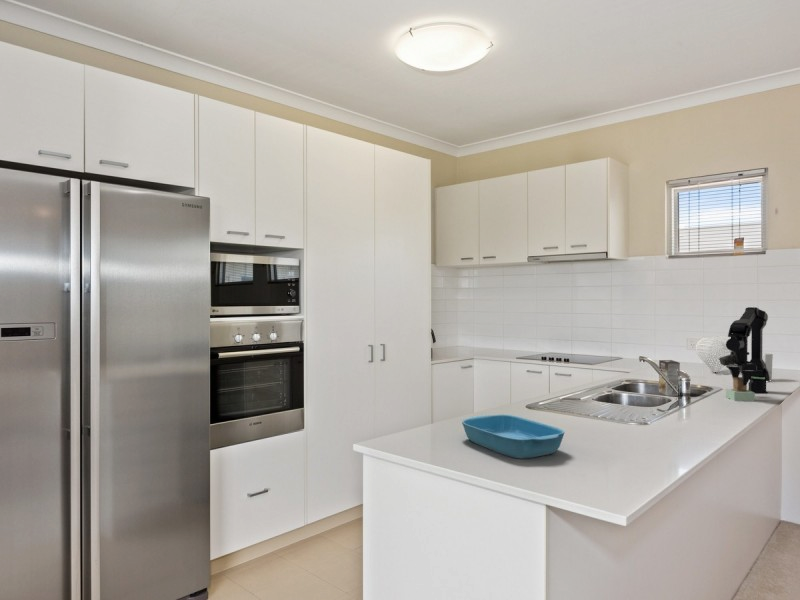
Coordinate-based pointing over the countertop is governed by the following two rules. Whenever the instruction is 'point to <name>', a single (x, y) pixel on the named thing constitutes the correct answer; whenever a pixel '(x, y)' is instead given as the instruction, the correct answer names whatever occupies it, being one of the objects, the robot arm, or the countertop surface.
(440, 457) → the countertop surface
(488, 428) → the casserole dish
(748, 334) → the robot arm
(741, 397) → the socket
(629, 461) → the countertop surface
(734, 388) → the peg
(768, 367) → the skincare box
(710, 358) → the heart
